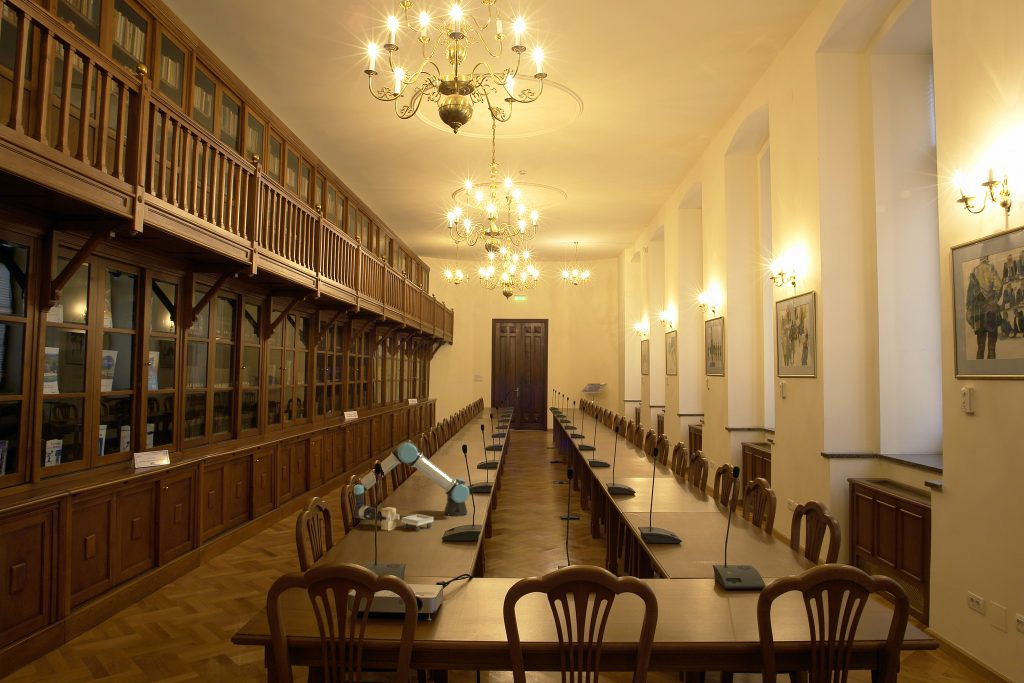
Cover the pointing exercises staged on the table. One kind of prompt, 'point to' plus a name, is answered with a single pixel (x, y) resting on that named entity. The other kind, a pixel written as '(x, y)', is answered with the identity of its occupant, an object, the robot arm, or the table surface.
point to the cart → (417, 521)
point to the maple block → (392, 513)
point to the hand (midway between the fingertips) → (394, 518)
